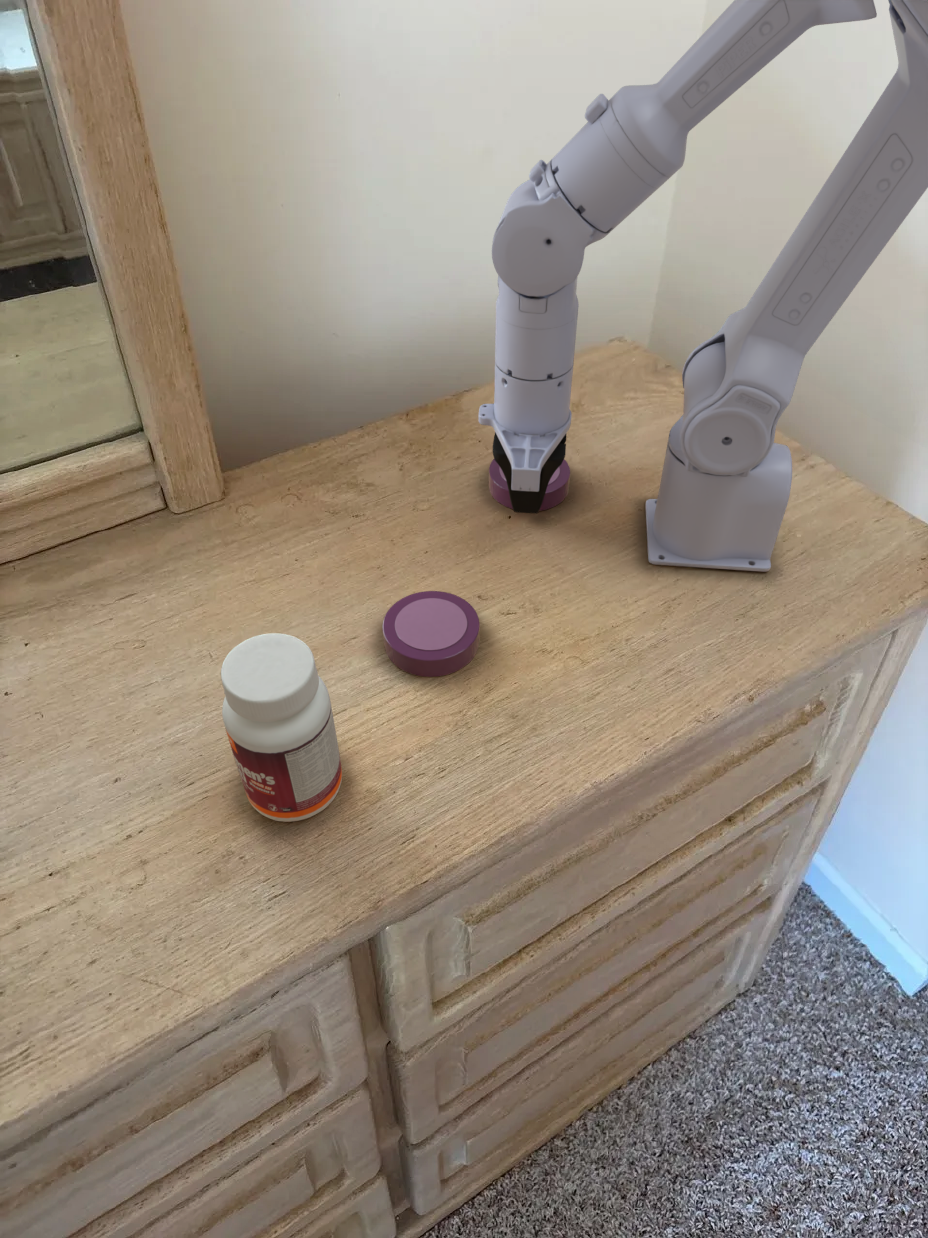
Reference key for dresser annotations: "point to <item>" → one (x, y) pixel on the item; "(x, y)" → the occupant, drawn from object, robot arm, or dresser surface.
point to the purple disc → (431, 633)
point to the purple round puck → (553, 493)
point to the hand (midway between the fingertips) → (526, 508)
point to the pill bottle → (280, 727)
